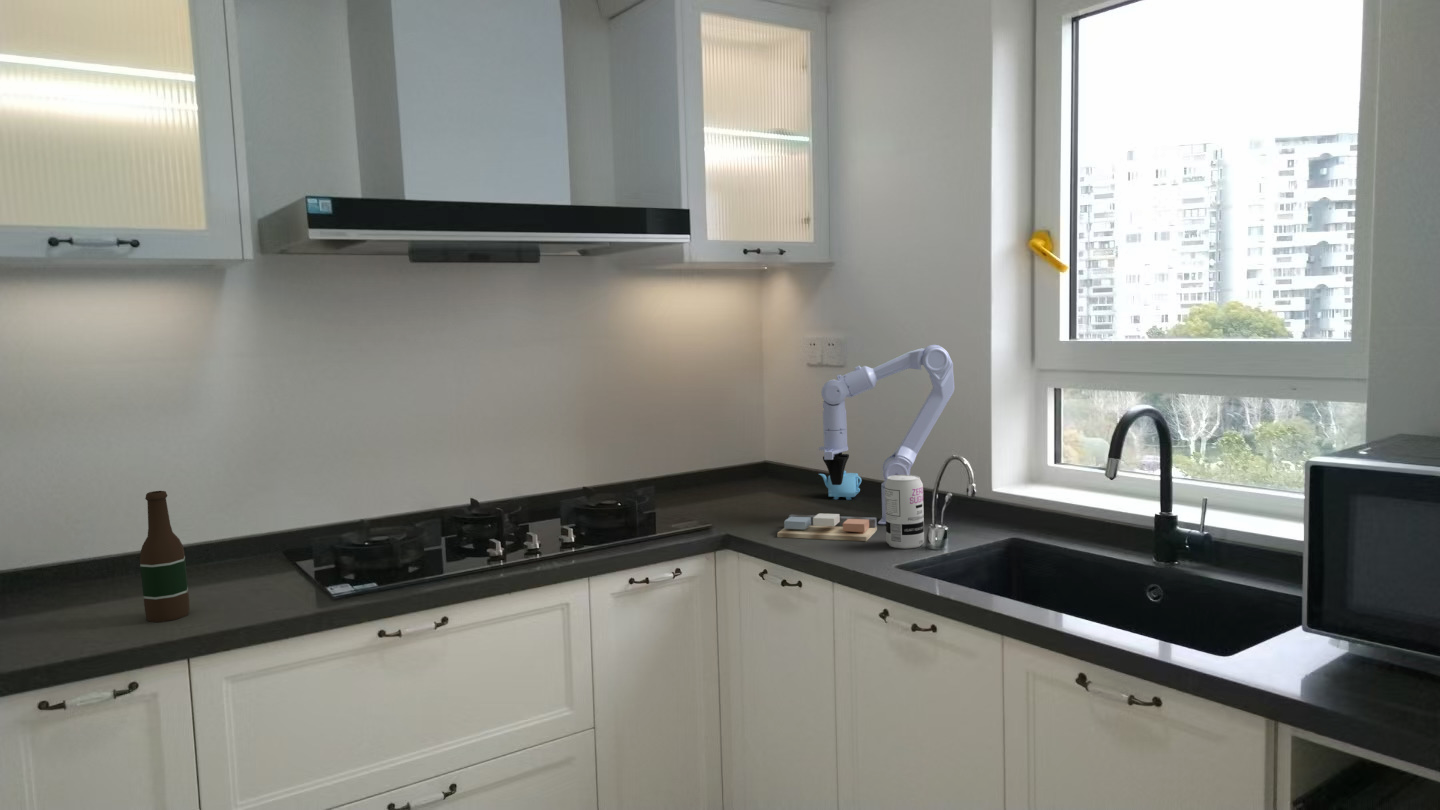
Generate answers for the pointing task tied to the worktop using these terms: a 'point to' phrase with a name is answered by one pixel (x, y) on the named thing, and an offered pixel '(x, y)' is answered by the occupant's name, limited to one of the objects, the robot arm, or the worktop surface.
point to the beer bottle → (163, 565)
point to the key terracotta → (856, 525)
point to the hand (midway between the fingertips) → (836, 484)
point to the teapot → (843, 486)
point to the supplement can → (904, 511)
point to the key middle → (826, 519)
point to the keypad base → (830, 530)
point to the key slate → (797, 523)
